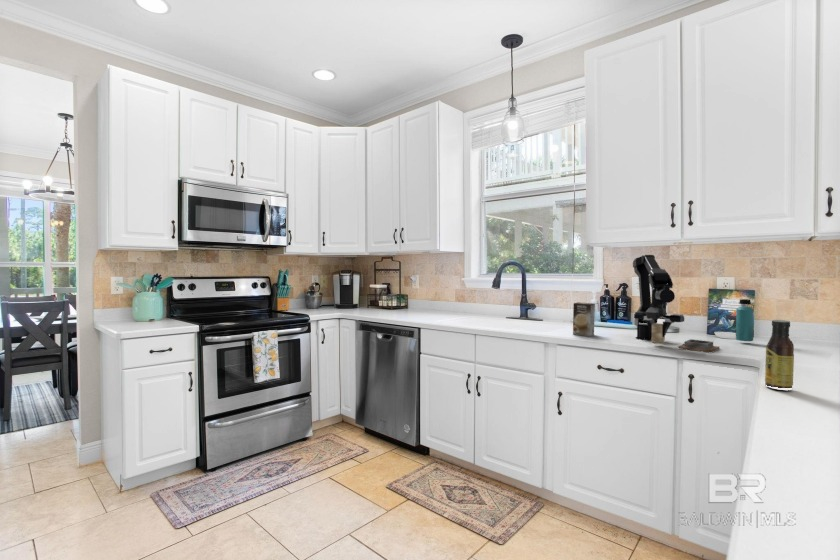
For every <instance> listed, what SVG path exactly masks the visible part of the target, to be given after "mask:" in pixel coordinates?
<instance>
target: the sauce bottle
mask: <svg viewBox="0 0 840 560" xmlns="http://www.w3.org/2000/svg"><path fill="white" fill-rule="evenodd" d="M771 326H772V327H771V328H772V330H771V332H772V333H771V336H770V338H769V340H768V342H767V344H766V346H765V369H764V370H765V372H764V375H765V376H764V377H765V378H764V382H765V386H766V385H767V386H771V387H778V388H792V389H793V386H794V369H795V368H794V366H795V365H794V364H795V363H794V362H795V353H794V350H795V348H794V347H795V345H794V343H793V341H792V340H791V338H790V328H791V321H789V320H785V319H772V320H771Z"/></svg>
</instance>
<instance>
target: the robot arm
mask: <svg viewBox="0 0 840 560" xmlns="http://www.w3.org/2000/svg"><path fill="white" fill-rule="evenodd" d="M632 268H633V270H634V273H635V275H636V276H637V277H638V287H639V302H640V303H639V304H640V306H639V307H638V309H637V311H635V313H634V314H633V319H634V321H633V322H634V326H636V327H637V328H636V330H637V331H636V336H635V339H640V340H646V341H651V340H652V324H654V323H658V320H664V321H662V324H663V337H665V338H666V335H667V333H668V331H669V328H670V326H671V325H672V324H674V323H682V322H685V315H683V314H676V313H673V314H670V315H668V312H667V306H668V304H669V303H672V302H673V301H674V300H675V298H676V295H675V292H674V291H673V290H671V289H673V286H674V283H673V280H672V278H671V275H670V274H669V273H668V271H666V270H665V269H662V268H661V267H660V265H659V263H658V262H657V260H656V255H655V254H654V255H653V254H643V255H641V256H639V257H636V258H634V260H633V262H632Z"/></svg>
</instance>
